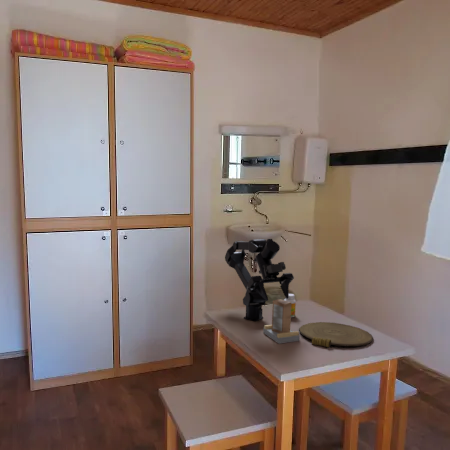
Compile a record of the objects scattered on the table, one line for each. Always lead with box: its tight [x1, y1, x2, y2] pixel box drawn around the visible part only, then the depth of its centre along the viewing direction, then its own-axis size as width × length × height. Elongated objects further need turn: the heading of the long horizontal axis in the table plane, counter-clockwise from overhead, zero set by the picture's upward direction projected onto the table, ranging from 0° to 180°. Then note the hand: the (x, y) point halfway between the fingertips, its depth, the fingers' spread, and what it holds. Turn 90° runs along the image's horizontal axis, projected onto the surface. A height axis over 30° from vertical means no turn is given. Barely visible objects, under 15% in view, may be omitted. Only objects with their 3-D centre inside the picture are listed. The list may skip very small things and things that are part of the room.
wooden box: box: [271, 298, 292, 333], centre depth 168 cm, size 6×4×12 cm
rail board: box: [262, 324, 300, 344], centre depth 169 cm, size 12×9×3 cm
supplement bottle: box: [283, 293, 297, 318], centre depth 195 cm, size 5×5×10 cm
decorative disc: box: [298, 321, 374, 348], centre depth 172 cm, size 29×3×30 cm
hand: (277, 299), depth 172 cm, fingers open, 9 cm apart
